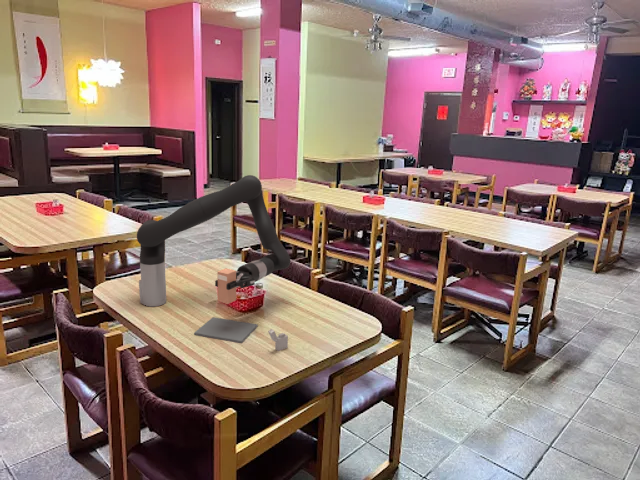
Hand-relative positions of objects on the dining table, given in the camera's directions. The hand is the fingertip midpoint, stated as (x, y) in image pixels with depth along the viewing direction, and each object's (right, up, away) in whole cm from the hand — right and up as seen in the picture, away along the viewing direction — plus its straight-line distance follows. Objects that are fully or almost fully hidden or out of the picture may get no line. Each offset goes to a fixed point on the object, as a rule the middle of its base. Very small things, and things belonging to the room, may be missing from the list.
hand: (221, 285), depth 166 cm
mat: (0, -17, +7) cm, 18 cm away
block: (+1, -6, +4) cm, 7 cm away
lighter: (+20, -21, -5) cm, 29 cm away
